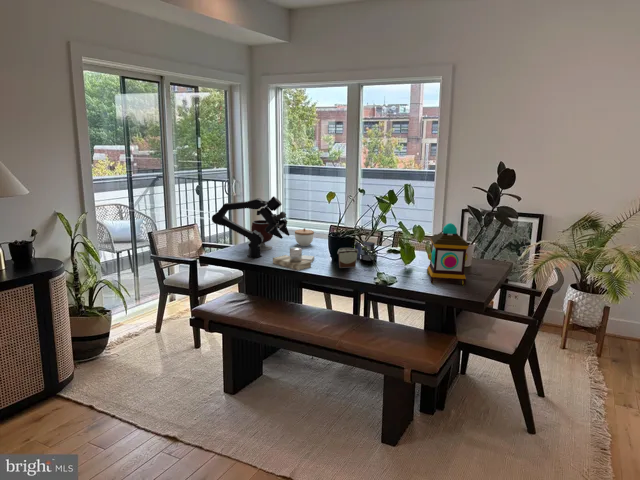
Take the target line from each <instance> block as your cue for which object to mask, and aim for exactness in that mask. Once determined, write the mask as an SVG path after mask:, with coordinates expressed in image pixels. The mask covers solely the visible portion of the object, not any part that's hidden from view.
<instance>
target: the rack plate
mask: <svg viewBox="0 0 640 480" xmlns="http://www.w3.org/2000/svg"><path fill="white" fill-rule="evenodd" d="M272 264H275V265H279V266H282V267H286V268H289V269H293V270H297V271H301V270H304V268H305V269H308V268H311V267H312V263H311V262H310V261H306V260H303V259H302V261H301V262H299V263H293V262H290V255H287V254H285V255H284V254H283V255H280V256H275V257H272ZM300 269H301V270H300Z"/></svg>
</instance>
